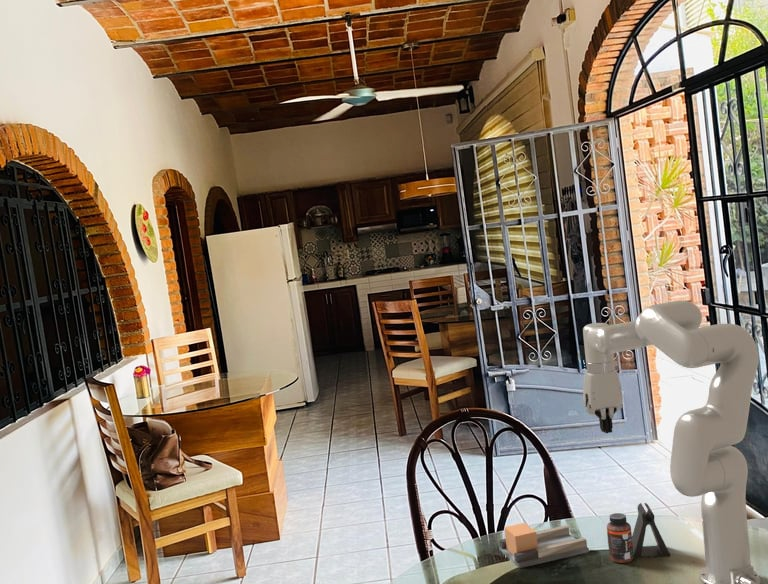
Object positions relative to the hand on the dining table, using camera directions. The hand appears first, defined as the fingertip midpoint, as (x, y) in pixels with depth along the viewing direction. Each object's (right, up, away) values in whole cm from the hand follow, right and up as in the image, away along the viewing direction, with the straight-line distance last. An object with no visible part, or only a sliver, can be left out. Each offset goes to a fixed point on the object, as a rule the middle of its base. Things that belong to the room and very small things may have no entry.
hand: (606, 431), depth 207 cm
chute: (-20, -30, -9) cm, 37 cm away
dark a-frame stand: (+6, -28, -17) cm, 33 cm away
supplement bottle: (-2, -29, -19) cm, 35 cm away
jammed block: (-26, -30, -11) cm, 41 cm away
